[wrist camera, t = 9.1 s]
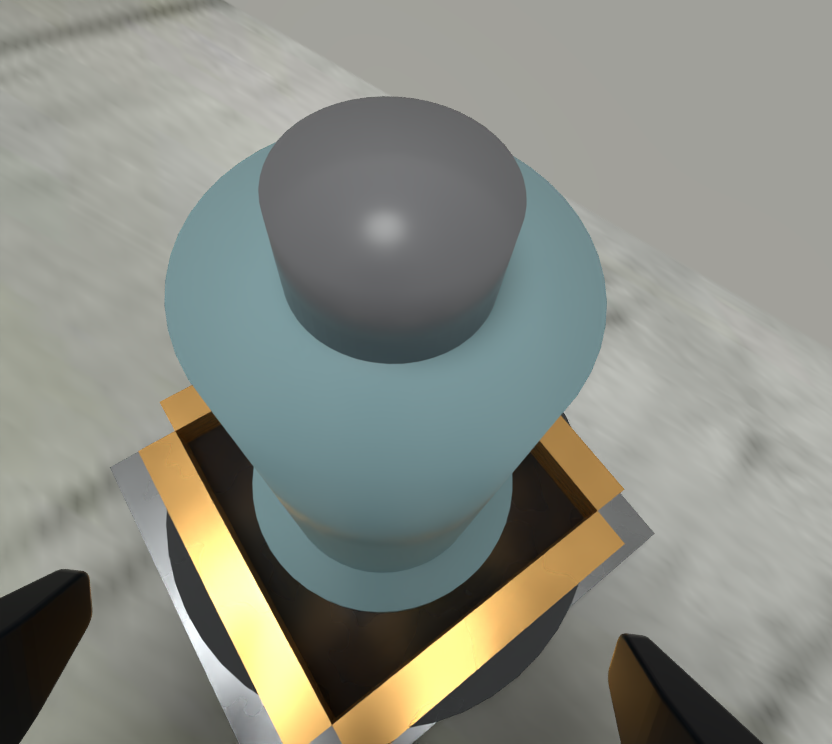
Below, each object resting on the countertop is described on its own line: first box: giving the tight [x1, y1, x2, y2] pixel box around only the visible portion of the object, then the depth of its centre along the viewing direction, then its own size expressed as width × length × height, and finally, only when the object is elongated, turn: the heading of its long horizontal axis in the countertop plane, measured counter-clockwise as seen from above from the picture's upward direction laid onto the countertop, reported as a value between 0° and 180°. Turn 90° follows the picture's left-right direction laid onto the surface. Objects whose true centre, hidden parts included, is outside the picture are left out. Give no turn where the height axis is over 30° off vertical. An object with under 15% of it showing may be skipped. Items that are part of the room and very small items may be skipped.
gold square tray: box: [110, 385, 655, 744], centre depth 19 cm, size 16×14×5 cm
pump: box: [165, 96, 607, 613], centre depth 12 cm, size 9×8×13 cm
